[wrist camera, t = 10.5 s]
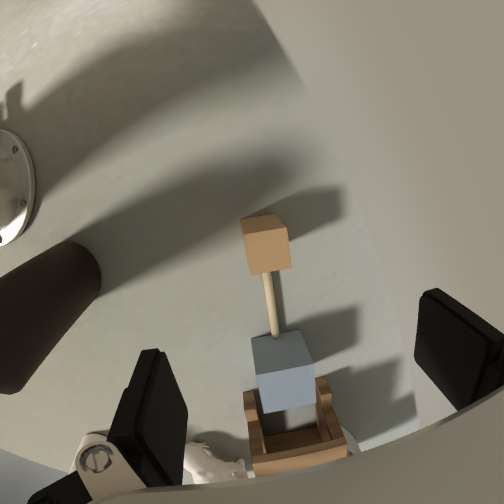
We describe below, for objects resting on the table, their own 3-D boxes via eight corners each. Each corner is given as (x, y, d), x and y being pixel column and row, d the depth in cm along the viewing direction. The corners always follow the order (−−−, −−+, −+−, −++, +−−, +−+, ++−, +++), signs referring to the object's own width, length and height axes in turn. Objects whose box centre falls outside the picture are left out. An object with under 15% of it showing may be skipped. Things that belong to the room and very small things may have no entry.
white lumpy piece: (223, 523, 29) (157, 485, 27) (225, 481, 37) (169, 440, 35) (261, 512, 28) (195, 473, 26) (259, 467, 37) (203, 424, 35)
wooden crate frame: (242, 392, 32) (248, 453, 24) (324, 376, 33) (348, 432, 24) (256, 443, 35) (262, 497, 27) (325, 429, 35) (343, 480, 27)
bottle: (74, 226, 26) (-86, 319, 7) (115, 282, 28) (2, 432, 9) (36, 265, 27) (-96, 366, 7) (75, 315, 28) (-27, 450, 9)
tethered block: (229, 221, 27) (229, 237, 21) (285, 211, 27) (300, 225, 21) (258, 375, 32) (264, 413, 26) (303, 367, 32) (316, 403, 26)
